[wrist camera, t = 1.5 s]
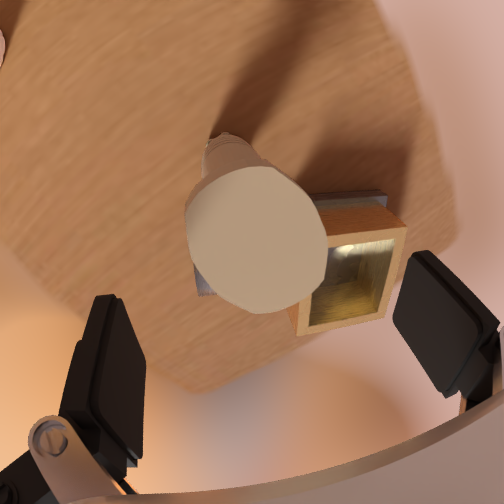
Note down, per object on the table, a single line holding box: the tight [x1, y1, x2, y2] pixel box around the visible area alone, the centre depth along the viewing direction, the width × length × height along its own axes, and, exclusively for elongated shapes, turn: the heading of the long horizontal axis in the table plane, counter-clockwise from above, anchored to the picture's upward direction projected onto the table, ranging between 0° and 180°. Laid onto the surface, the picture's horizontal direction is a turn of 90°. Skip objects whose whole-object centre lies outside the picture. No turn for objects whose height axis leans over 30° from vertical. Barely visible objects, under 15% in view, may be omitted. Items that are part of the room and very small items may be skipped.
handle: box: [185, 132, 328, 314], centre depth 18 cm, size 5×6×15 cm
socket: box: [193, 190, 408, 336], centre depth 27 cm, size 11×18×6 cm, turn 92°
